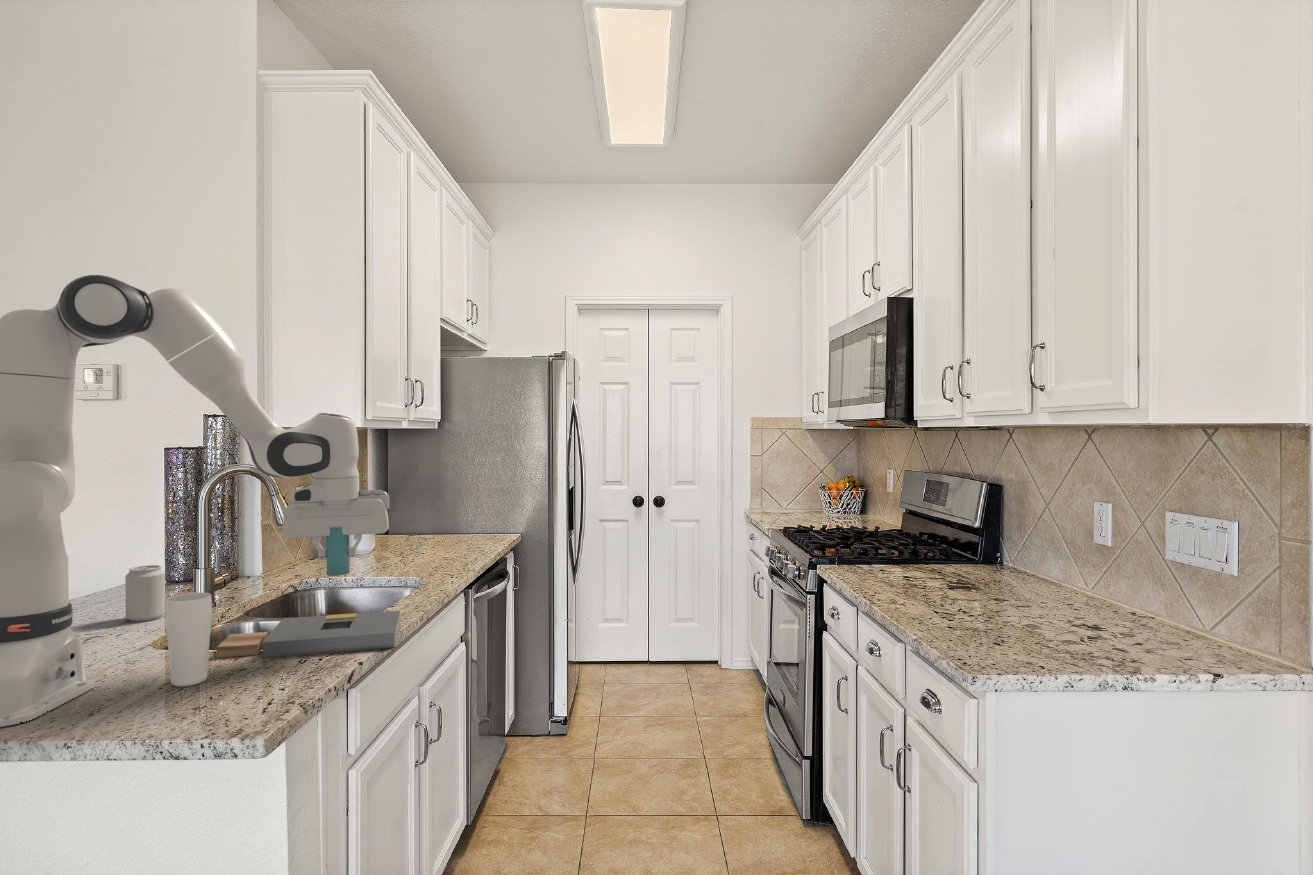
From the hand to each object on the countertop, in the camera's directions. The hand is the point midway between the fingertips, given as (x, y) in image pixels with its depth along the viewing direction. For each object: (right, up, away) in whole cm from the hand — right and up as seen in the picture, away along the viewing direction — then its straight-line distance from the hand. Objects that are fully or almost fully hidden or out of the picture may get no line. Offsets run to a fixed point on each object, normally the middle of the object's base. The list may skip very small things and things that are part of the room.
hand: (337, 556), depth 149 cm
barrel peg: (0, -4, 0) cm, 4 cm away
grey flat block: (0, -17, 0) cm, 17 cm away
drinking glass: (-15, -18, -25) cm, 34 cm away
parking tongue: (-16, -17, -7) cm, 25 cm away
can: (-52, -17, +16) cm, 57 cm away
